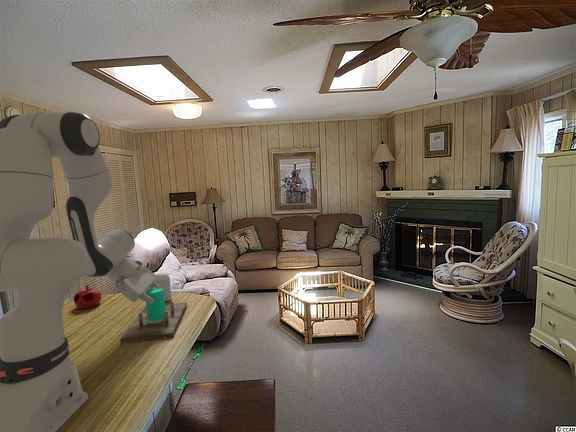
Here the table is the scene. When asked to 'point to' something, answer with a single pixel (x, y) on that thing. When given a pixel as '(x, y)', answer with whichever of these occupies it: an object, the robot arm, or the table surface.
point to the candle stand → (154, 324)
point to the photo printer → (163, 285)
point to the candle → (156, 304)
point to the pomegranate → (87, 298)
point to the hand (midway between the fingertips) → (157, 297)
